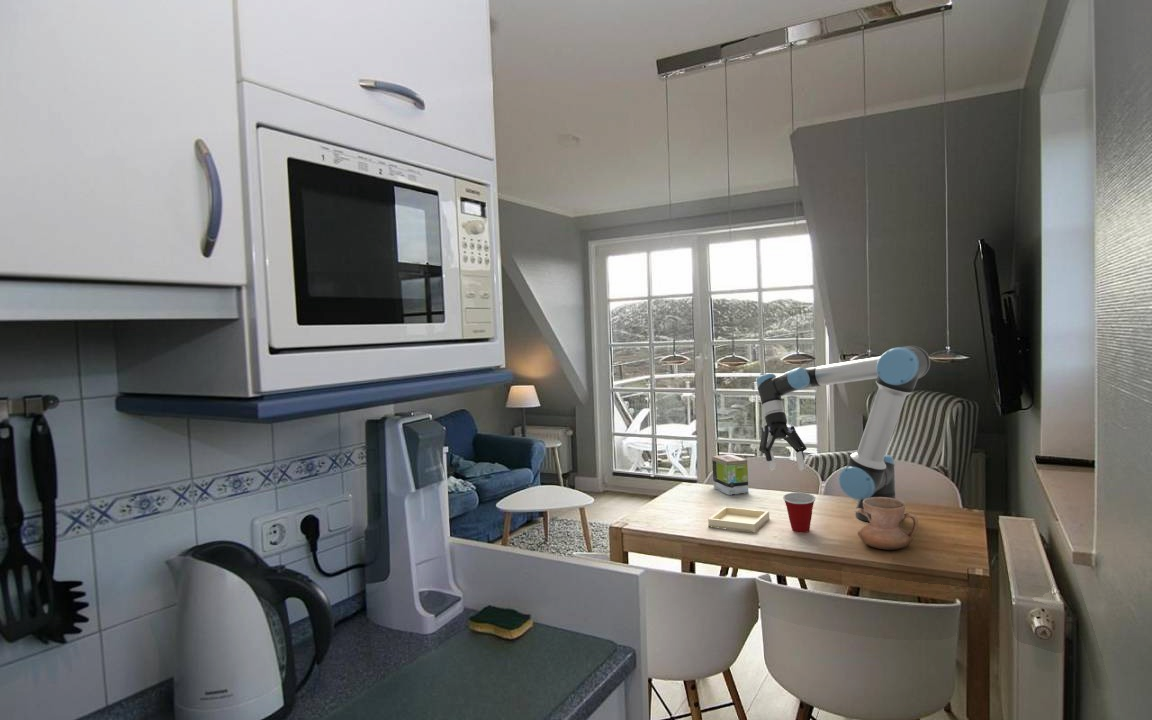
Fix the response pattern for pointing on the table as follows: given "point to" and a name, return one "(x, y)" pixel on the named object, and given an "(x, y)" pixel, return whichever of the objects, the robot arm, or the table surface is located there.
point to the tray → (739, 519)
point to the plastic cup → (799, 510)
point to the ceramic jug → (885, 523)
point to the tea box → (730, 474)
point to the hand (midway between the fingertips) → (788, 469)
